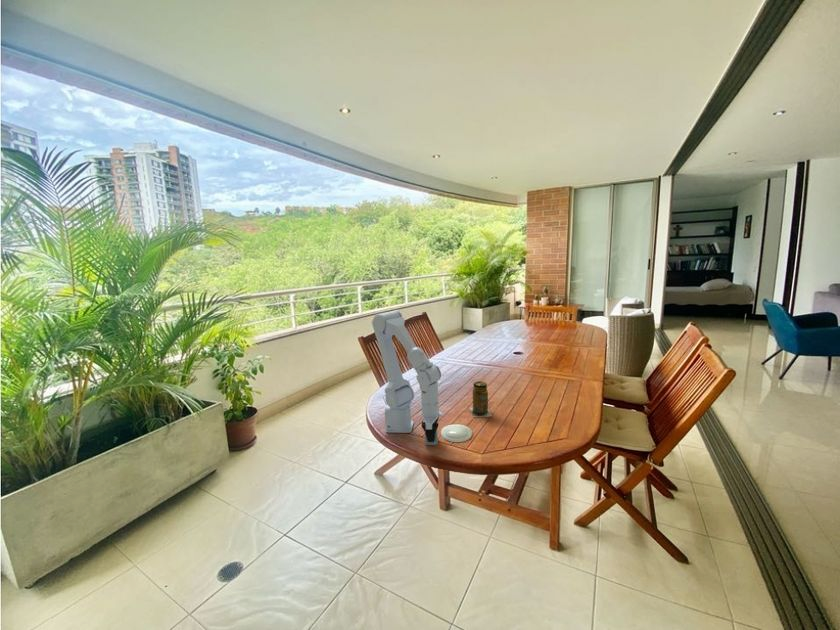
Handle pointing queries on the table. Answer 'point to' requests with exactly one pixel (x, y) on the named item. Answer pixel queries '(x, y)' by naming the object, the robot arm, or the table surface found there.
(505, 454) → the table surface
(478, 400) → the condiment
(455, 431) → the dish
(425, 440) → the block
